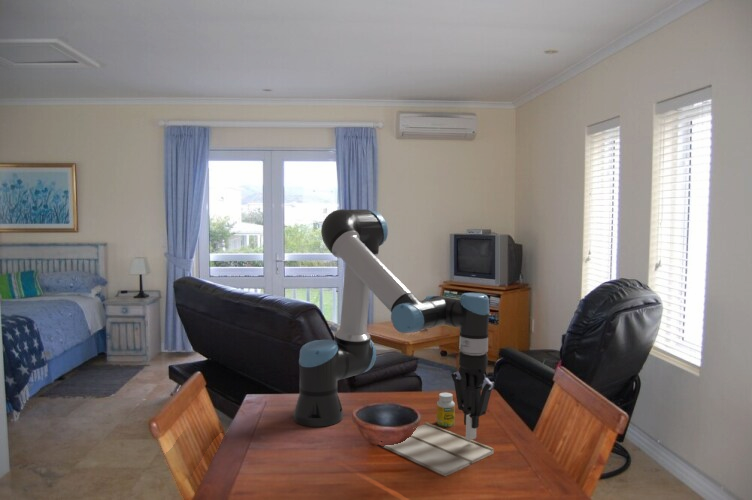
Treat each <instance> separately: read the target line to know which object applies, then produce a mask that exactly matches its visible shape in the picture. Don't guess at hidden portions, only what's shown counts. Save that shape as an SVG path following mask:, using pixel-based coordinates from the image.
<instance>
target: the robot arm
mask: <svg viewBox="0 0 752 500" xmlns="http://www.w3.org/2000/svg"><path fill="white" fill-rule="evenodd" d="M320 231H321V238H322V239H321V240H322V241H323V243H324V245H325V247H326V248H327V250H328V251H329V252H330V253H331V254H332V255H333V256H334V257H335V258H337V259H341V260H342V261H343V262H344V263H345V265H344V267H345V268H344V278H343V290H342V291H343V292H342V302H341V314H340V325H339V326H340V327H339V329H338V330H337V331H335V332H334V339H333V340H332V339H329V338H327V339H324V338H323V339H320V340H319V339H315V340H313V341H308V342H306V343H305V344H303V345H302V346H301V347H300V350H299V359H298V365H299V367H298V368H299V395H298V398H297V400H296V404H295V408H294V410H293V421H294V422H295V423H297V424H298V425H301V426H306V427H311V428H312V427H315V428H320V427H328V426H331V425H335V424H338V423H339V422H341V421H342V420H343V418H344V409H343V406H342V403H341V400H340V397H339V393H338V381H340V380H343V379H344V380H345V379H347V378H350V377H351V378H352V377H353V376H354V377H355V376H360V375H362V374H363V373H366V372H368V371H369V370H371V369H372V368H373V366H374V364H375V362H376V359H377V349H376V347H375V343H374V342H373V341H372V339H371V335H370V333H369V332H368V331H367V329H368V319H369V318H368V317H369V316H368V315H369V308H370V307H369V306H370V296H371V293H373V294H374V295H375V296H376V297H377V298H378V300H379V301H380V302H381V303H382V304H383V305H384V306H385V307H386V309H387V310H388V311H389V312H390V313H391V314H390V321H391V323H392V326H393V327H394V329H395V330H397V332H399V333H403V334H409V333H417V332H419V331H422V330H426V329H430V328H431V329H433V328H436V327H440V326H450V327H454V328H459V350H460V352H459V353H458V365H459V369H458V371H456V372H453V373H451V375H450V376H451V377H452V380H453V383H454V389H455V390H454V391H455V396H456V403H457V409H458V410H459V411H462V413H463V423H464V424H463V425H464V426H465V437H466V439H467V440H476V439H477V428H479V426H480V424H479V423H480V417H482V416H485V415H486V413H487V411H488V410H487V409H488V406H489V403H490V398H491V393H492V390H493V389H494V387H495V386H496V384H495V382H494V381H491V380H490V379H489V378H488V373H487V368H488V364H489V363H488V359H489V358H488V357H489V356H488V355H489V354H488V353H487V352H488V351H489V321H490V313H491V312H490V299H489V296H488V295H487V294H484V293H479V292H477V293H476V292H464V293H462V294H461V295H460V298H454V297H447V296H446V297H445V296H441V295H428V296H426V298H425V299H423V300H419V299H418V298H417V297H416V295H414V293H412V292H411V291H410V290H409V289H408V288H407V287H406V286H405V285H404V283H403V282H402V281H400V279H399V278H398V277H396V275H395V274H394V273H393V272H392V271H391V270H390V269H389V268H388V267H387V266H386V265H385V264H384V263H383V262H382V261H381V260H380V259H379V258H378V257H377V256H378V255H379V251H380V249H379V248H380V246H382V245H384V243H385V242H386V241H387V238H388V235H389V228H388V224H387V221H386V219H385V218H384V217H383V215H382V214H381V213H380V212H378V211H377V210H376V211H375V210H373V209H372V210H370V209H363V208H362V209H345V208H342V209H337V210H334V211H331V213H329V214H327V216H326V217H324V219H323V222H322V225H321V230H320Z"/></svg>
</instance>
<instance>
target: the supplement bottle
mask: <svg viewBox="0 0 752 500" xmlns="http://www.w3.org/2000/svg"><path fill="white" fill-rule="evenodd" d="M453 397H454V395H453V393H451V392H441V393H439V394H438V399H439V400H438V401H437V402H436V424H437V426H438V427H441V428H450V427H454V426H455V425H456V423H455V422H456V419H455V418H456V417H455V416H456V413H455V412H456V403H455V402H454V400H453Z"/></svg>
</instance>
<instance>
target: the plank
mask: <svg viewBox="0 0 752 500" xmlns="http://www.w3.org/2000/svg"><path fill="white" fill-rule="evenodd" d="M416 427H417V428H416ZM416 427H415V428H416V430H415V431H414V432H413V434H412V435H411V437H412V438H414V439H416V440H419V441H421V442H423V443H426V444H428V445H430V446H433V447H435V448H437V449H440V450H442V451H445V452H447V453H449V454H452V455H454V456H456V457H459V458H461V459H463V460H466V461H468V462H469V463H470V464H471V465H472V464H475V463H477V462H479V461H481V460H483V459H486V458H487V457H489V456H492V455H494V453H495V452H494V451H495V450H494V448H493V447H492V446H489V445H486V444H484V443H481V442H478V441H475V439H473V440H467V439H466V436H463V435H461V434H458V433H456V432H453V431H450V430H447V429H444V427H441V426H438V425H434V424H432V423H430V422H427V421H425V422H424V424H421V425H419V426H416Z"/></svg>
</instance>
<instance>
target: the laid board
mask: <svg viewBox="0 0 752 500" xmlns="http://www.w3.org/2000/svg"><path fill="white" fill-rule="evenodd" d="M383 448H384V449H386V450H388V451H390V452H392V453H395V454H397V455H399V456H401V457H403V458H405V459H408V460H410V461H412V462H414V463H416V464H418V465H420V466H423V467H424V468H427V469H429V470H431V471H433V472H435V473H437V474H439V475H442V476H444V477H447V476H450V475H451V474H453V473H455V472H458V471H460V470H462V469H464V468H466V467H468V466H470V465H472V463H469V462H468V461H466V460H463V459H461V458H459V457H456V456H454V455H452V454H449V453H447V452H445V451H442V450H440V449H437V448H435V447H433V446H430V445H428V444H426V443H423V442H421V441H419V440H416V439H414V438H412V437H409V438H407V439H406V440H405V441H403V442H401V443H398V444H394V445H385V446H384V447H383Z"/></svg>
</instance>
